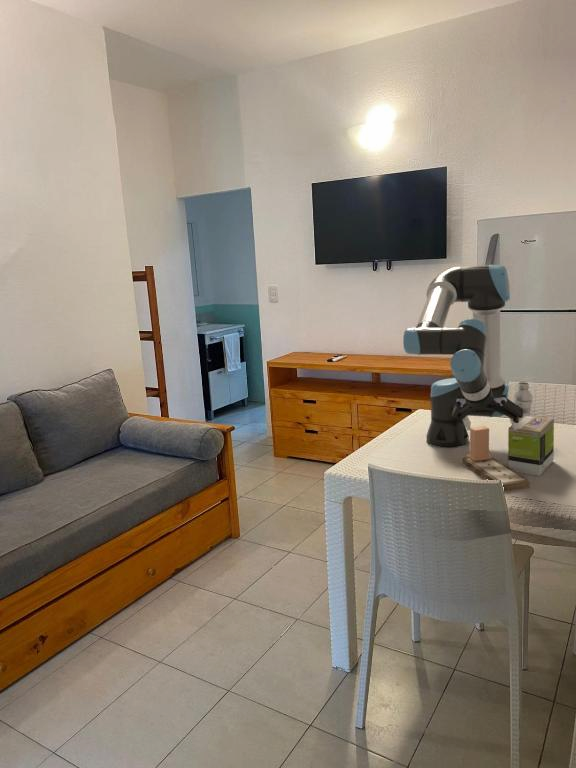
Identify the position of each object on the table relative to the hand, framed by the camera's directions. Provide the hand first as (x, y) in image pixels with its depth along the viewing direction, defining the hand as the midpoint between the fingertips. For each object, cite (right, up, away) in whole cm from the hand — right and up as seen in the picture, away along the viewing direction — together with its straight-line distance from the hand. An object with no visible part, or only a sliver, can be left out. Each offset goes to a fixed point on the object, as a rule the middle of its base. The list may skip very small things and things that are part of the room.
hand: (491, 426), depth 176 cm
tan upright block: (+1, -11, +13) cm, 17 cm away
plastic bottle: (+25, -6, +39) cm, 47 cm away
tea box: (+16, -14, +10) cm, 24 cm away
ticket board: (+2, -15, +5) cm, 17 cm away
